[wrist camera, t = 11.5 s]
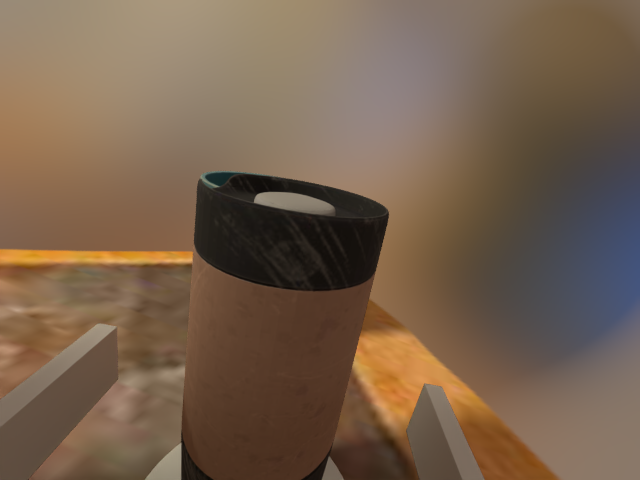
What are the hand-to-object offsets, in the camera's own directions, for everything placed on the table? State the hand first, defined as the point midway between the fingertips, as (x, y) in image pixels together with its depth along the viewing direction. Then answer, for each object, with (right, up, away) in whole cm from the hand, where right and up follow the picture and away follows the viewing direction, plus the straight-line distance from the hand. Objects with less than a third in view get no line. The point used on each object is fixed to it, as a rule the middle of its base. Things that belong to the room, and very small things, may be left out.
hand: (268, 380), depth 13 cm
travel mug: (-2, -11, +5) cm, 12 cm away
